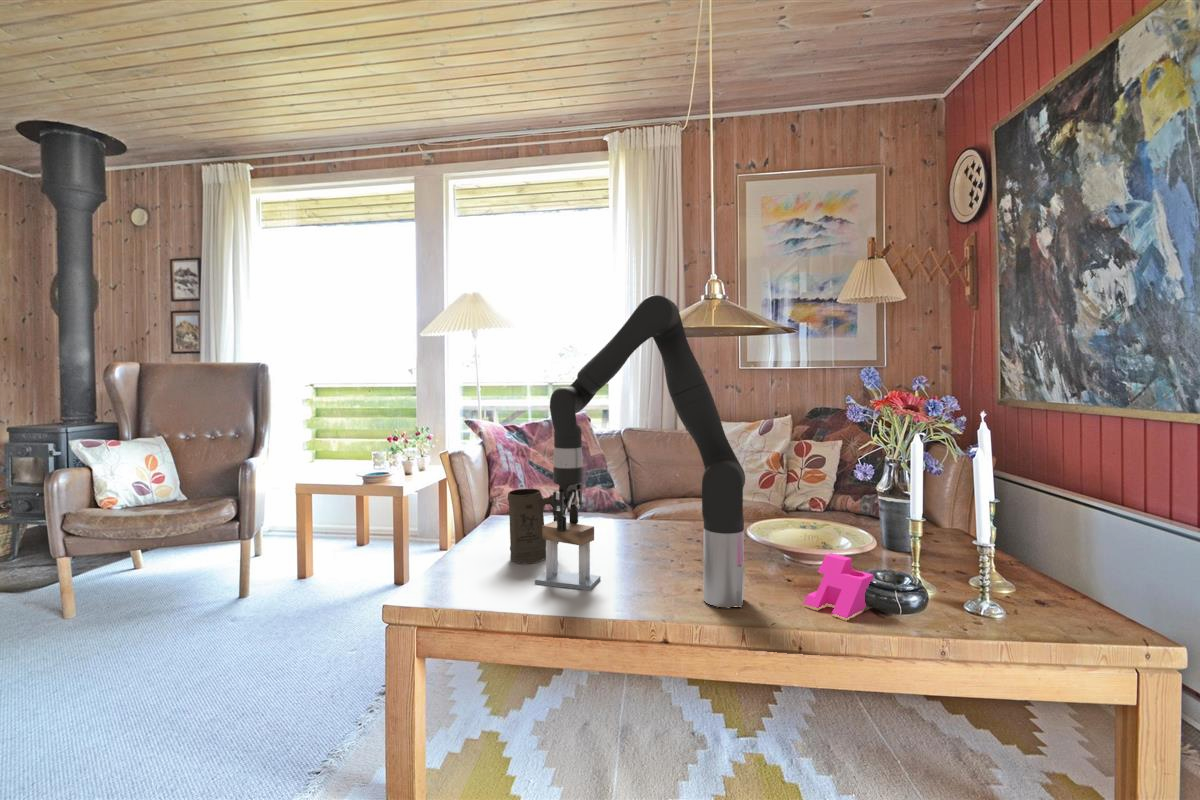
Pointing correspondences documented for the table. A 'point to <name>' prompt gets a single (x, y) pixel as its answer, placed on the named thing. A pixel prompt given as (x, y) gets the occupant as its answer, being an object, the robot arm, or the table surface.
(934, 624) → the table surface
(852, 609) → the pink dog planter
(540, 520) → the beer stein
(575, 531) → the brown wooden block
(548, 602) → the table surface
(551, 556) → the peg stand
